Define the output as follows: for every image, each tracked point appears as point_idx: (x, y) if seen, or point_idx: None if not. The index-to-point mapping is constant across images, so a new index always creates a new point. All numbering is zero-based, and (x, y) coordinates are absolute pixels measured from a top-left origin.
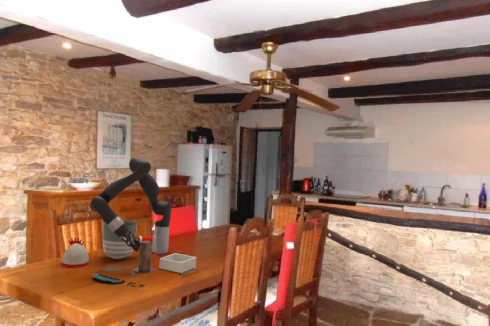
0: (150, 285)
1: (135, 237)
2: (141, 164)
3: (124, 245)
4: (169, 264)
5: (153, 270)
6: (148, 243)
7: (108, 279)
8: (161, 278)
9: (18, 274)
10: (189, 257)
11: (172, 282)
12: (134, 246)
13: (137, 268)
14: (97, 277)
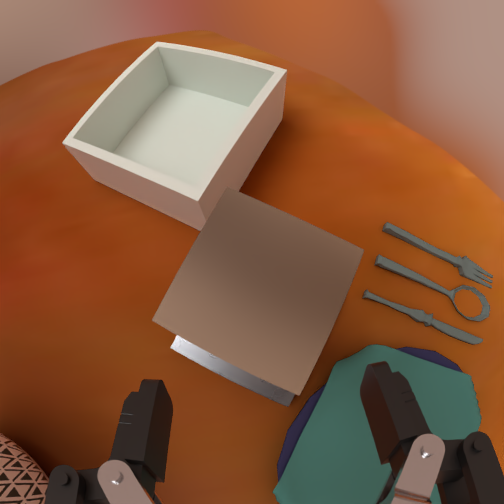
0: (456, 236)
1: (77, 499)
2: None
3: (18, 499)
4: (245, 146)
5: None
6: (317, 232)
7: None
8: (351, 200)
9: None
10: (139, 69)
11: (389, 148)
12: (423, 419)
13: (239, 374)
14: (437, 500)
